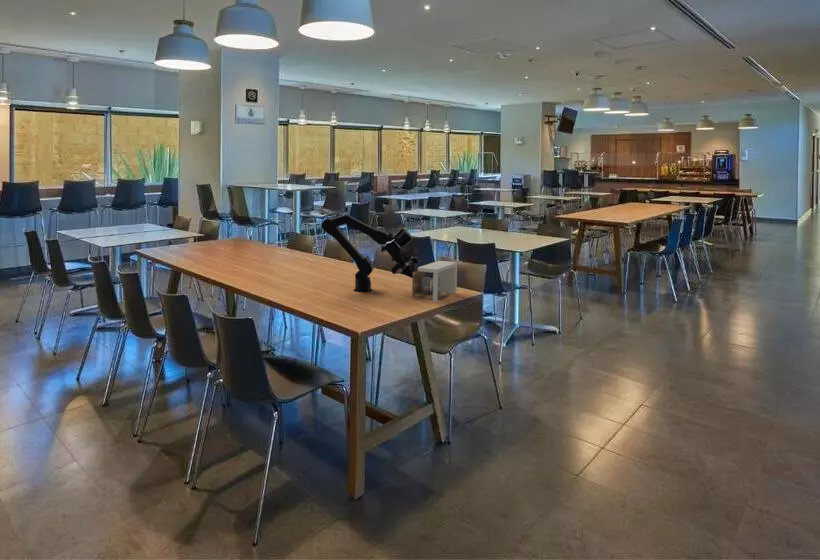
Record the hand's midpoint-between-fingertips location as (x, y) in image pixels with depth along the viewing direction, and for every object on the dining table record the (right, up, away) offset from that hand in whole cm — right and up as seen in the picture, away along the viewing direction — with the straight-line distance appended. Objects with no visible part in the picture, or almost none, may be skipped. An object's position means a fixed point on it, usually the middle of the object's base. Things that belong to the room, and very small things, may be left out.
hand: (417, 279), depth 272 cm
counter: (+9, -8, -4) cm, 12 cm away
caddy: (+6, -7, -2) cm, 10 cm away
